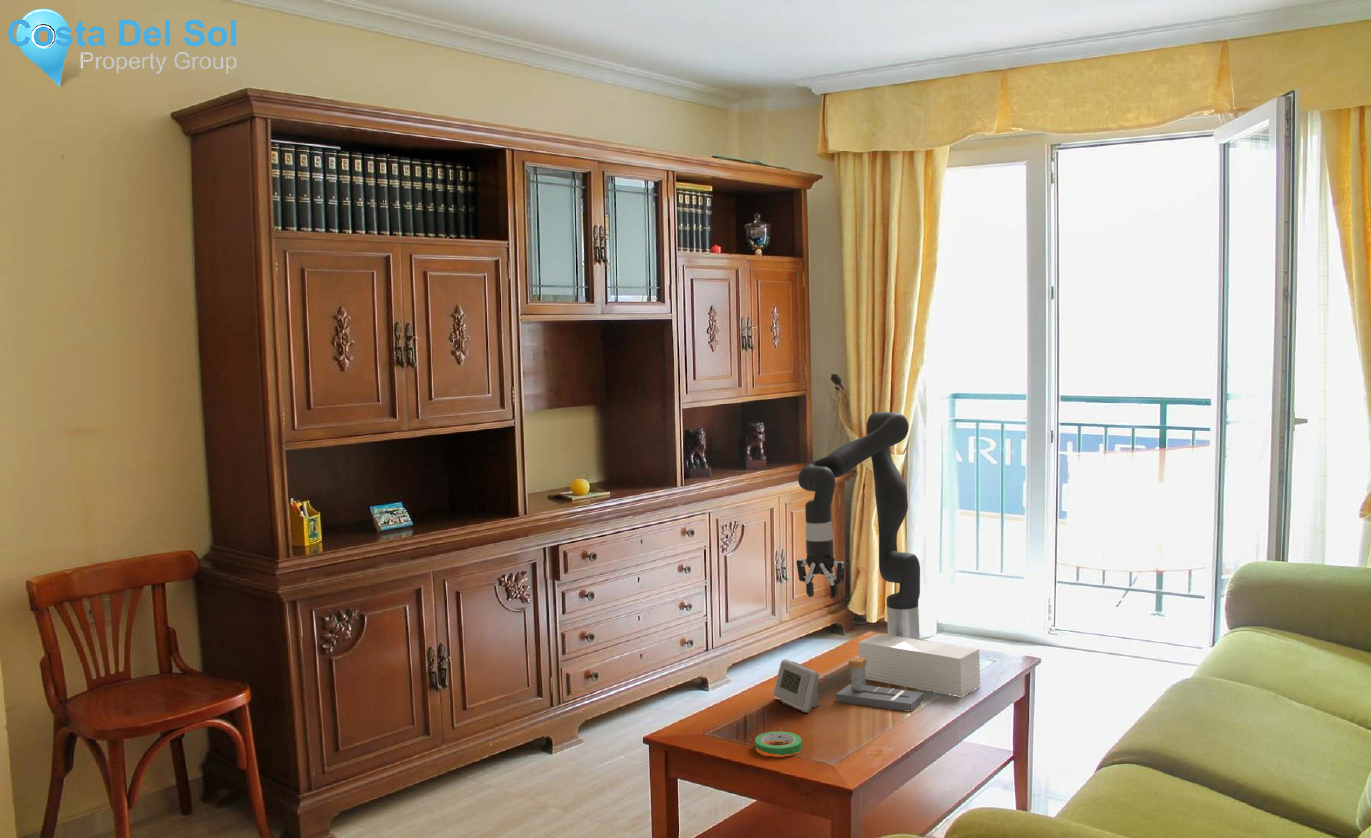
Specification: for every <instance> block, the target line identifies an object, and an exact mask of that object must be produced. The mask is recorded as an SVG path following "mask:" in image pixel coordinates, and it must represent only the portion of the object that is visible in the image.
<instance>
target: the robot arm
mask: <svg viewBox="0 0 1371 838" xmlns="http://www.w3.org/2000/svg"><path fill="white" fill-rule="evenodd" d="M909 428H910V427H909V422H908V419H907V417H906V416H905V415H903V414H902V413H899V412H895V411H894V412H892V411H887V412H886V411H875V412H872V413H871V414H870V415H869V417H868V418H867V422H866V435H865V436H862V437H860V438H857V439H854V440H852V441H848V442H847V443H845V444H843V445H841V446H840V447H837V449H835V450H834V451H832V452H830V453H829V454H828V455H827V456H824V457H822V458H820V459H817V460H815V461H812V462H811V463H808V464H807V465H805V466H803V468H802V469H801V470H800V472H799V474H798V478H797V480H798V485H799V487H800V488H801V489H802V490H805V491H808V492H814V496H813V499H811V500H808V501H807V502H806V503H805V506H804V508H805V509H804V510H805V511H804V512H805V531H804V532H805V534H804V537H805V549H806V551H805V552H806V558H805V559H804V558H800V559H798V560H796V567H797V568H796V569H797V573H798V580H799V581H800V582H803V583H805V590H806V595H807V597H808V598H812V597H814V596H815V595H814V593H815V590H814V589H815V588H814V582H813V580H814V579H815V576H816V575H824V576H825V577H826V579H827V580H828V581H829V584H830V585H829V590H830V591H829V592H830V600H832V599H836V598H837V596H838V595H839V591H838V589H839V588H838V585H840V584H841V583H844V581H845V568H846V567H845V566H846V562H845V561H844V560H841V561H838V560H836V559H835V557H834V550H835V549H834V535H833V534H834V533H833V531H834V529H833V525H832V512H831V511H832V510H831V507H832V502H833V497H834V492H835V488H836V479H837V478H840V477H842V476H844V475H846V474H848V473H849V472H850V471H852V470H853V469H854V468H856V467H857V466H859V464H861V463H863V462H864V461H866V460H868V459H869V458H871V463H872V464H871V465H872V470H873V471H872V472H873V479H874V494H875V495H874V496H875V506H876V512H877V513H876V515H877V524H878V525H877V526H878V568H879V569H878V570H879V573H880V576H881V578H882V579H883V580H884V581H885V582H889V583H894V584H899V591H897V592H895V593H891V594H889V595H888V596H887V597H886V615H887V616H886V618H887V620H886V621H887V635H891V636H898V637H904V638H910V639H917V640H921V638H920V637H921V635H920V633H921V632H920V616H919V615H920V614H919V613H920V612H919V611H920V610H919V600H920V596H921V564H920V560H919V558H918V557H917V555H916V554H914V553H910V552H902V551H898V546H897V545H898V540H897V539H898V532H899V529H900V528H901V526H902V524H903V522H904V520H905V519H906V518H905V517H906V515H907V513H908V509H909V502H908V501H909V500H908V493H907V492H908V490H907V486H906V483H905V480H904V478H903V476H902V474H901V473H900V471H899V469H898V468H897V466H896V464H895V462H894V461H893V457H892V454H891V453H892V452H891V447H893V446H895V445H897V444H899V443H902V442H903V440H905V438H906V437H907V435H908V433H909V430H910V429H909ZM806 565H807V567H808V568H809V569H808V571H806ZM834 566H835V569H836V573H835V571H834V568H833V567H834Z"/></svg>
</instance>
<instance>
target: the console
mask: <svg viewBox="0 0 1371 838" xmlns="http://www.w3.org/2000/svg"><path fill="white" fill-rule="evenodd" d="M925 699H926V698H925V692H921V691H913V690H906V689H899V688H898V689H897V688H892V687H891V688H890V687H881V686H874V685H867V684H866V689H865V690H864V691H862V692H859V691H852V690H851V683H849V684H848V685H846V686H845V687H844V688H842V689H841V690H839V691H838V692H837V693H835V702H838V703H846V704H852V705H853V704H854V705H861V706H869V707H876V708H881V707H882V709H891V710H898V711H903V710H907V711H906V712H911V711H912V710H913V709H914V708H915V707H916V708H917V707H919V705H921V704H922V703H923V702H924V701H925ZM923 700H924V701H923ZM922 701H923V702H922ZM920 703H921V704H920ZM916 708H915V709H916ZM915 709H914V710H915ZM908 710H909V711H908ZM914 710H913V711H914ZM913 711H912V712H913Z"/></svg>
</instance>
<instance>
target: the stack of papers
mask: <svg viewBox="0 0 1371 838" xmlns="http://www.w3.org/2000/svg"><path fill="white" fill-rule="evenodd" d="M857 643H858V658H866V663H867V665H866V666H865V674H866V680H870V681H874V682H880V683H885V684H890V685H894V686H895V685H896V686H899V687H900V686H901V687H904V688H910V689H915V688H916V689H915V690H919V691H925V690H926V691H925V692H930V691H935V692H934V693H936V692H938V693H937V694H941V693H943V694H942V695H946V694H951V695H957V696H961V697H962V696H963V695H965V694H967V693H969V692H970V691H973V690H974V689H975V688H978V687H979V686H981V664H980V661H981V660H980V649H978V648H974V647H973V648H972V647H969V646H968V647H966V646H959V645H955V644H954V645H953V644H948V643H942V642H941V643H940V642H935V641H929V640H924V639H923V640H922V639H920V640H917V639H910V638H904V637H898V636H891V635H888V634H883V633H876V634H874V635H872V636H868V637H867V638H864V639H862V640H860V641H858V642H857ZM978 689H979V688H978ZM973 692H974V691H973ZM969 694H970V693H969ZM951 695H950V696H951ZM967 695H968V694H967ZM961 697H960V698H961ZM962 698H963V697H962Z"/></svg>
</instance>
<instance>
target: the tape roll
mask: <svg viewBox="0 0 1371 838" xmlns="http://www.w3.org/2000/svg"><path fill="white" fill-rule="evenodd" d="M769 741H783V742H789V743H790V744H780V745H776V744H775V745H774V744H766V743H764V742H769ZM802 744H803V741H802V738H801V736H800V735H798V734H796V733H793V732H789V731H780V730H779V731H778V730H777V731H775V730H774V731H768V732H763V733H761V734H759V735H757V736H756V737H755V739H754V747H755V746H756V748H758V749H759V750H761V751H763V752H767V753H770V754H771V753H773V754H780V755H785V754H787V755H788V754H793V753H796V752H799V751H800V750H801V749H802V750H803V745H802ZM802 750H801V751H802ZM799 753H800V752H799Z"/></svg>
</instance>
